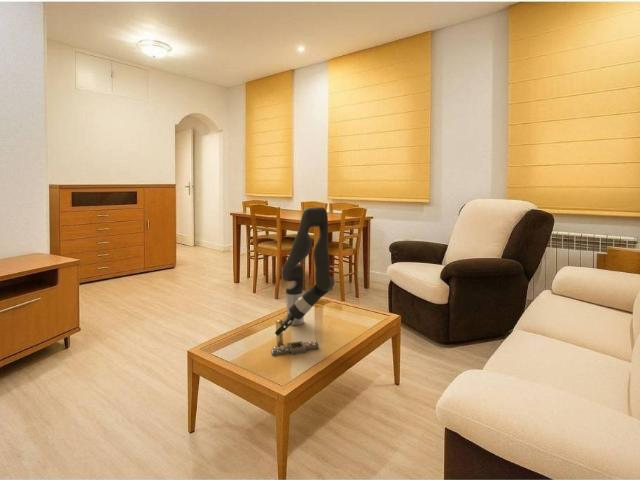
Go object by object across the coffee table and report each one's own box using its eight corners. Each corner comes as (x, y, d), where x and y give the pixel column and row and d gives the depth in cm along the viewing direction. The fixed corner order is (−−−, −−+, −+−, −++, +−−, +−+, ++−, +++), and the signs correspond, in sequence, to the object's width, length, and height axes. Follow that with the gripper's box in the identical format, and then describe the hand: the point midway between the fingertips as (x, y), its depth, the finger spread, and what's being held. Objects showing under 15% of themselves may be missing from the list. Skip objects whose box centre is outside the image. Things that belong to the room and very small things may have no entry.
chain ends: (270, 350, 178) (270, 344, 178) (316, 344, 184) (316, 338, 184) (273, 357, 171) (273, 350, 170) (320, 350, 177) (320, 344, 176)
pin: (276, 344, 186) (275, 319, 184) (282, 343, 186) (281, 319, 185) (277, 346, 183) (276, 322, 181) (284, 345, 183) (283, 321, 182)
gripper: (297, 297, 188) (274, 320, 190) (293, 306, 174) (269, 331, 176) (308, 308, 189) (285, 330, 191) (305, 317, 175) (281, 342, 177)
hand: (277, 330), depth 184 cm, fingers open, 8 cm apart
